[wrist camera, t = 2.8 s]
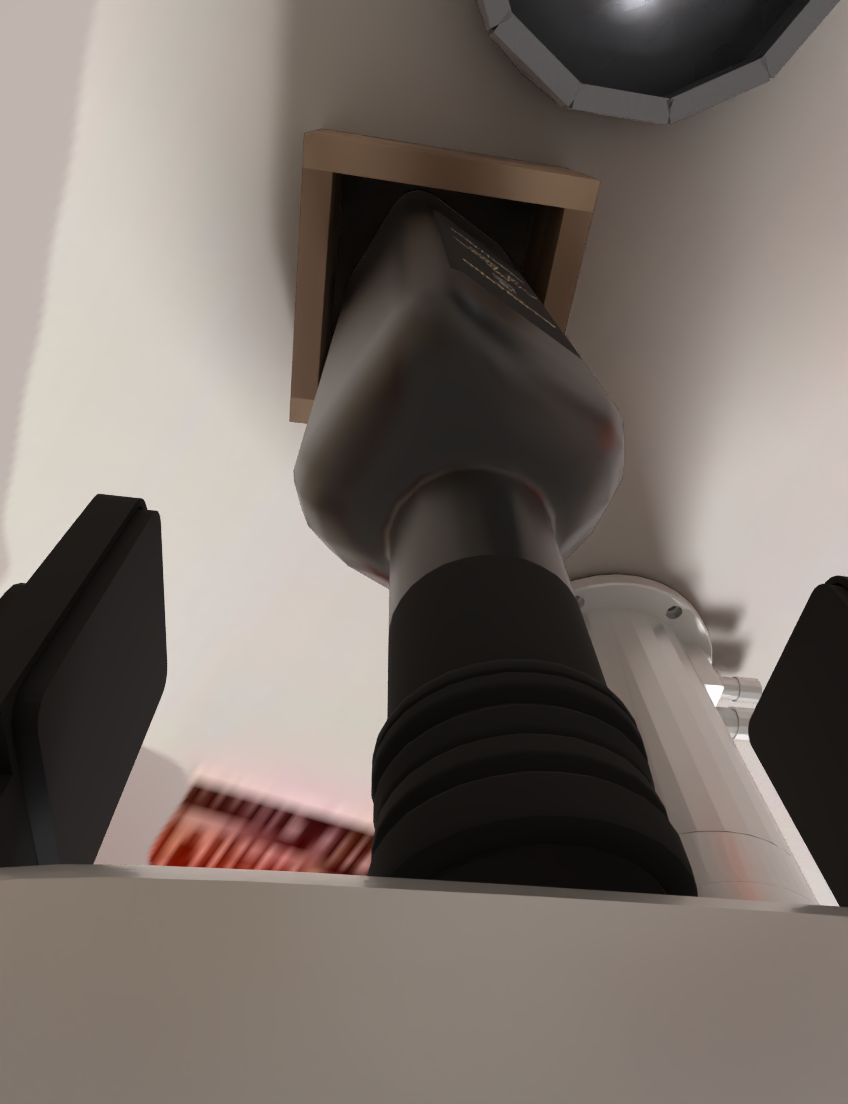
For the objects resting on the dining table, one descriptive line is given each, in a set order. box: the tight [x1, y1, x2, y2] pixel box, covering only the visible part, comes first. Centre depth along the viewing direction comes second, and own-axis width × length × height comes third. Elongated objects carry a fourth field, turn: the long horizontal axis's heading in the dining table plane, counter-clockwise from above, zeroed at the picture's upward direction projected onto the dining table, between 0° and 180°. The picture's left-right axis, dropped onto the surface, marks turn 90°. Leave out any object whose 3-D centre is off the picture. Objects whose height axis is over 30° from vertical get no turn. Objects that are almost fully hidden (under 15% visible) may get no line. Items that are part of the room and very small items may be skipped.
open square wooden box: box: [289, 129, 601, 424], centre depth 30 cm, size 10×10×6 cm
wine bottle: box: [294, 190, 698, 897], centre depth 19 cm, size 6×6×30 cm
